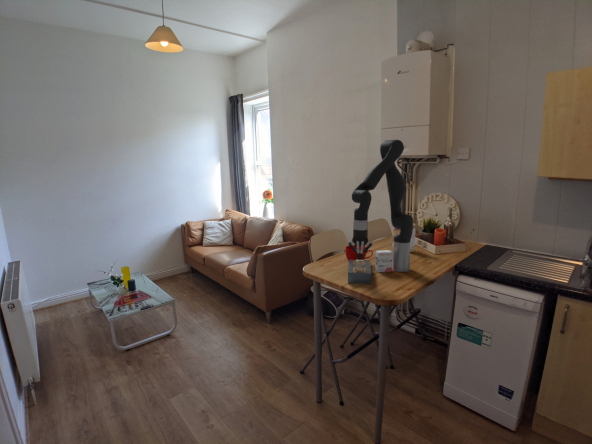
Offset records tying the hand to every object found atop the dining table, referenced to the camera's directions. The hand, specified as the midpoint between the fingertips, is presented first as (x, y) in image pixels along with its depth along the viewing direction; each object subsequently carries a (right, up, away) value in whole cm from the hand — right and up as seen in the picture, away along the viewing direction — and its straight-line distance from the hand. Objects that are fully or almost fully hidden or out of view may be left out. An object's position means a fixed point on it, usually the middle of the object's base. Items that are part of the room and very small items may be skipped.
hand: (359, 259), depth 175 cm
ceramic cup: (+5, -6, +29) cm, 31 cm away
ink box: (+17, -9, +16) cm, 25 cm away
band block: (+1, -10, +8) cm, 13 cm away
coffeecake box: (+42, +1, +57) cm, 70 cm away
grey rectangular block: (0, -7, +1) cm, 7 cm away
